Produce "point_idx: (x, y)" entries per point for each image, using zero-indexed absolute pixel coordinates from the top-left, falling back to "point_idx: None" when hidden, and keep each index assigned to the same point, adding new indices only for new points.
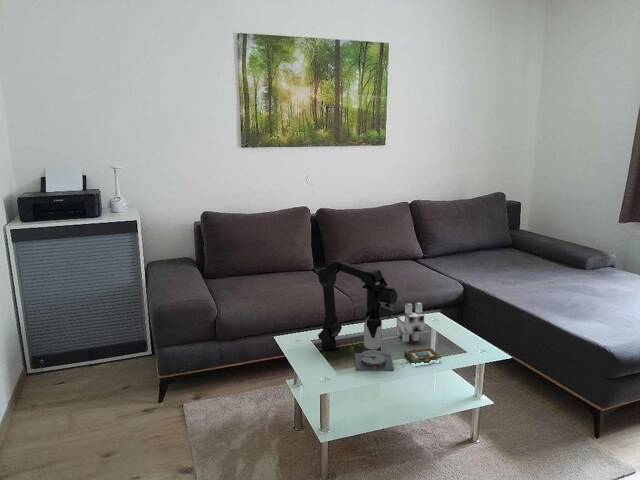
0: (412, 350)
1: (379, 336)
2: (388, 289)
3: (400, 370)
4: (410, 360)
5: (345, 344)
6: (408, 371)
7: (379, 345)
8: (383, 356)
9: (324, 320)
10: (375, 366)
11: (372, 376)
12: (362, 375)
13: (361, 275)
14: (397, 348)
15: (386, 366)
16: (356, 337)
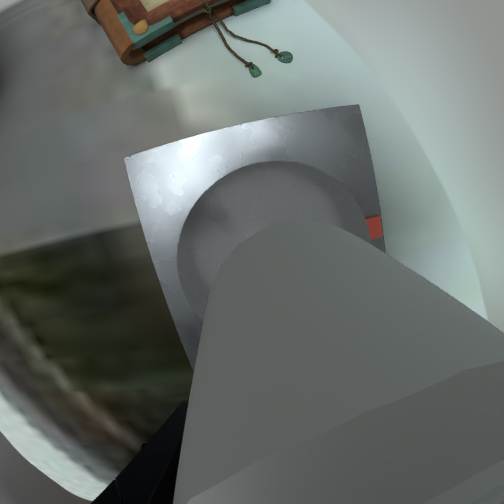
0: (114, 7)
1: (413, 272)
2: None
3: (334, 69)
4: (209, 14)
5: (96, 415)
6: (332, 28)
7: (353, 235)
8: (282, 183)
9: None
10: (367, 223)
11: (434, 223)
12: (429, 275)
13: None
14: (27, 144)
15: (341, 153)
16: (11, 374)
